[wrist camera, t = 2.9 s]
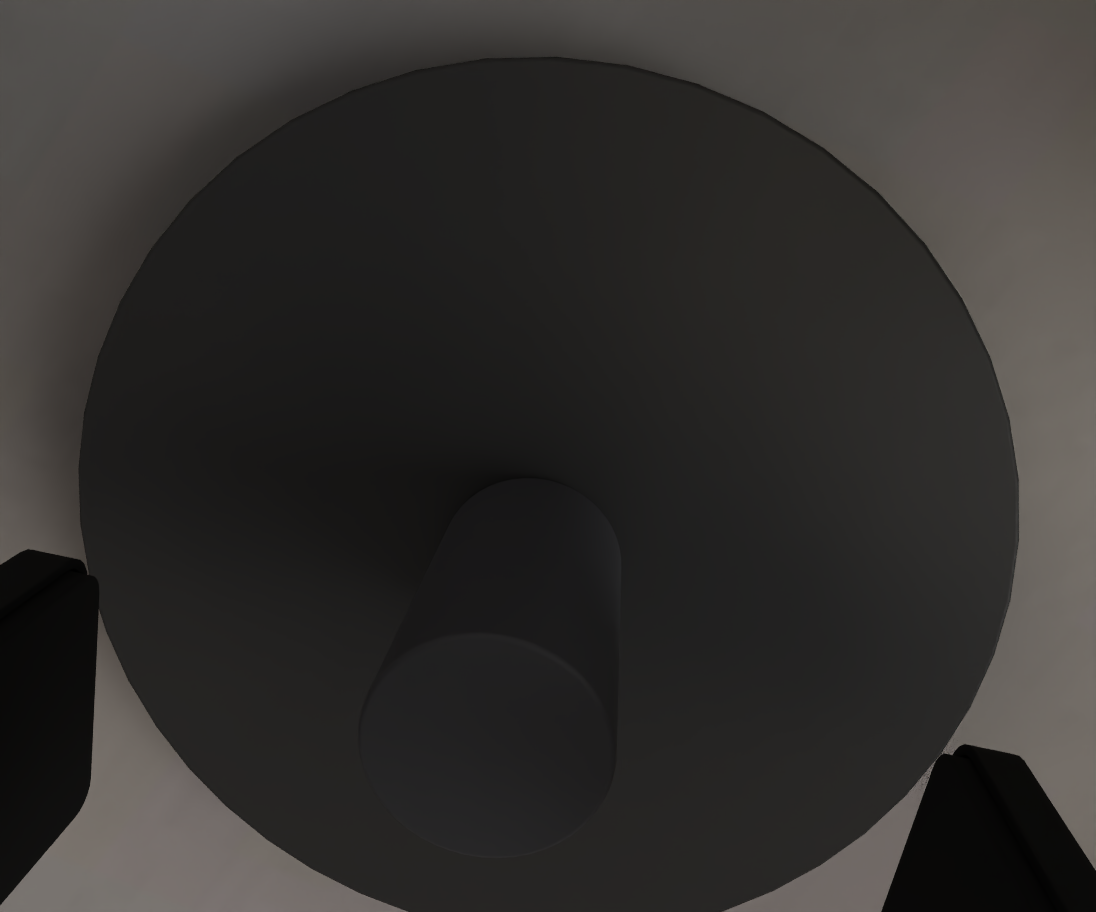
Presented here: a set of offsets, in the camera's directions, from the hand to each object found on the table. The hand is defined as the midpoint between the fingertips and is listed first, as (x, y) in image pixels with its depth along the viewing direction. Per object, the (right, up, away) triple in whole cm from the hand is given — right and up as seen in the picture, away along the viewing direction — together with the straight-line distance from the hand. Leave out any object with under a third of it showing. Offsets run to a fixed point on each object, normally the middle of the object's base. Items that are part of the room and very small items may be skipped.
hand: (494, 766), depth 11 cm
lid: (0, +2, +5) cm, 5 cm away
